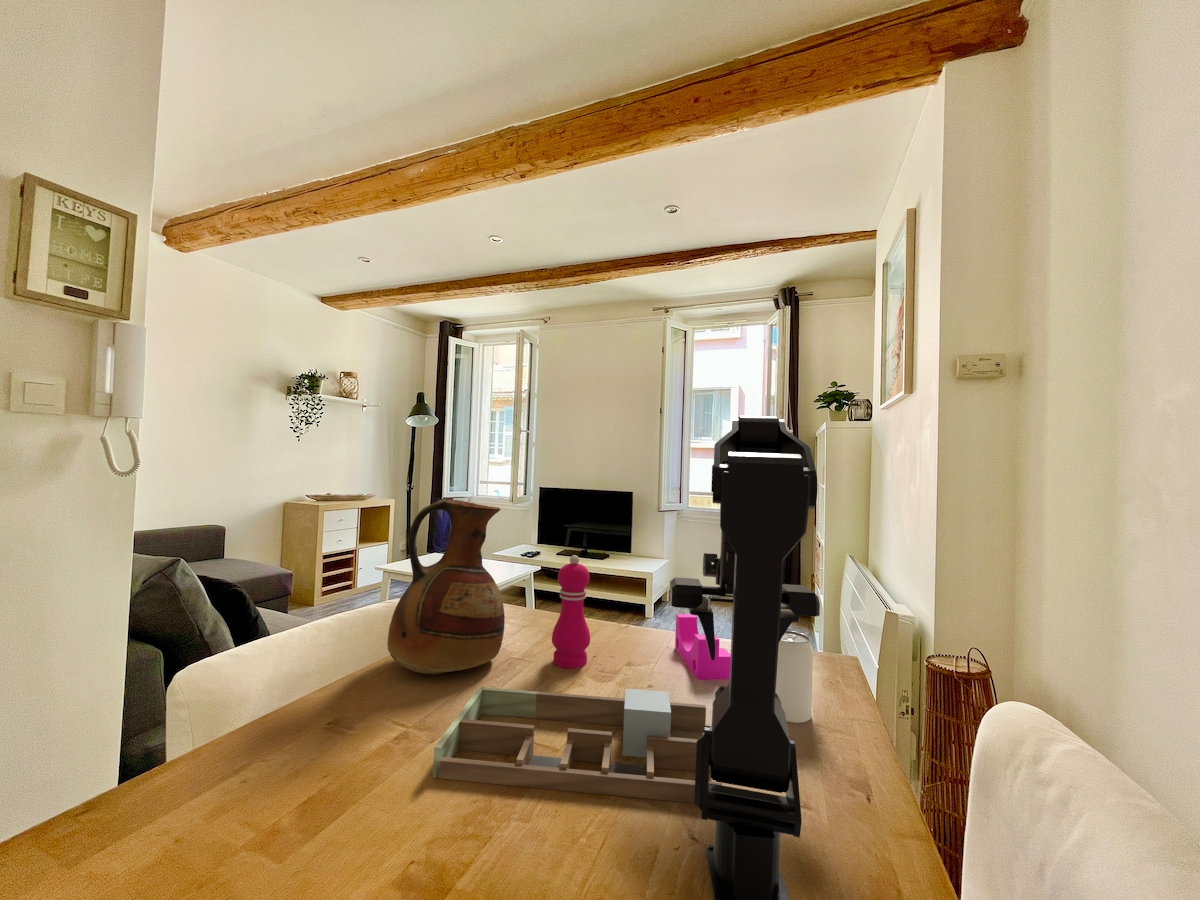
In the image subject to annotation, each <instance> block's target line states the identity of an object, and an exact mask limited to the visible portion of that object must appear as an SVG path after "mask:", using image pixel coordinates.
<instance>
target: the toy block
mask: <svg viewBox="0 0 1200 900" xmlns="http://www.w3.org/2000/svg"><path fill="white" fill-rule="evenodd" d="M674 639H675V641H674V642H675V643H674V649H675V650H676V652H677V653H678V655H679V656H680V657H681V659H682V660H683V662H684V663H685V664H686V666H687V667H688V668H689V670H690V672H691V673H692V674H693V675H694V677H695V679H696V681H699V680H700V681H701V680H702V681H706V680H707V681H708V680H709V681H711V680H730V658H731V653H730V652H729V651H728V650H727V649H725V648H724V647H722V648H720V638H719V637H717V636H716V635H715V660H711V657H710V654H709V650H708V646H707V642H706V638H705V635H704V633H702V634H701V633H699V628H698V616H697V615H692V614H690V613H688V614H685V613H684V614H683V613H682V614H681V613H676V614H675V638H674Z"/></svg>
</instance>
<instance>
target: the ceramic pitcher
mask: <svg viewBox="0 0 1200 900" xmlns="http://www.w3.org/2000/svg"><path fill="white" fill-rule="evenodd" d="M435 511H436V512H437V511H444V512H446V513H447V515H448V516H449V519H450V533H449V539H448V542H447V543H448V544H447V546H446V549H445V551H444V553H443V555H442V557H441V558H440V559H439V560H438V561H436V562H435V563H433V564H431V565H428V566H424V565H422V563H421V562H420V559H419V557H418V551H417V546H416V545H417V544H416V543H417V541H416V539H417V535H418V532H419V529H420V526H421V524H422V522H423V520H425V518H426V517H427V516H428V514H431V513H433V512H435ZM500 511H501V507H499V506H492V505H491V506H488V505H483V504H477V503H474V502H469V501H465V500H461V499H460V500H459V499H451V498H450V499H449V498H443V499H441V500H438V501H437V502H436V501H435V502H433V503H431V504H429V505H427V506H424V507H423V508H422V509H421V510H419V511H418V512H417V515H415V518H414V520H413V522H412V524H411V526H410V528H409V532H408V538H407V547H408V548H407V549H408V553H409V559H410V560H409V561H410V566H411V571H412V579H411V582H410V584H409V586H408V587H407V588H406V590H405V591H404V592H403V594H402V595H401V596H400V598H399V600H398V602H397V604H396V606H395V608H394V610H393V611H394V612H393V614H392V616H391V621H390V624H389V627H388V636H387V651H388V653H389V654H390V657H391V659H393V660H394V661H395V662H397V663H398V664H399V665H400V666H402V667H403V668H406V669H408V670H409V671H412V672H416V673H418V674H423V675H425V674H426V675H440V674H444V673H448V672H449V673H452V672H455V671H457V672H458V671H462V670H468V669H471V668H475V667H479V666H481V665H484V664H486V663H489V662H490V661H491V660H494V659H495V658H496V657H497V656H498V654H499V652H500V650H501V647H502V644H503V639H504V635H505V634H504V633H505V620H506V619H505V608H504V607H505V606H504V601H503V596H502V593H501V591H500V589H499V587H498V584H497V583H496V581H495V580H494V578H493V576H492V575H491V574H490V573H489V572H488V570H487V569H486V568H485V567H484V565H483V554H482V548H483V545H484V543H485V541H486V537H487V527H488V523H489V522H490V520H491V519H492V518H493V517H494V516H495V515H496V514H498V513H499V512H500Z"/></svg>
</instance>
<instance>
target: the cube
mask: <svg viewBox="0 0 1200 900" xmlns="http://www.w3.org/2000/svg"><path fill="white" fill-rule="evenodd" d="M624 693H625V694H624V699H625V706H624V726H623V735H622V756H625V757H627V756H628V757H637V758H646V748H647V735H653V736H665V737H671V730H670V729H671V708H670V702H671V700H670V693H669V691H661V690H647V689H637V688H636V689H634V688H625V692H624Z"/></svg>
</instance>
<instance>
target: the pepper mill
mask: <svg viewBox="0 0 1200 900" xmlns="http://www.w3.org/2000/svg"><path fill="white" fill-rule="evenodd" d="M569 562H570V563H566V564H564V565H563V566H562V567H561V568H560V569H559V572H558V574H557V582H558V584H559V586H560V587H561V588H560V589H559V597H560V599H561V607H560V608H561V611H560V614H559V617H558V619H557V622H556V623H555V625H554V626H553V627H554V628H553V631H552V633H551V643H552V645H553V646H554V648H555V650H554V652H553V659H552V660H553V664H554V665H555V666H557V667H559V668H562V669H572V670H573V669H578V668H582V667H584V666H585V665H587V662H588V653H587V651H586V649H587V648H588V647H589V646H590V644H591V633H590V629H589V626H588V624H587V620H586V618H585V612H584V601H585V599H587V590H586V587H587V586H589V585H588V584H589V583H590V572H589V570H588V568H587V567H586V566H584V565H583V564H581V563H580V558H579V556H578V555H576V554H573V555H571V556H570V558H569Z"/></svg>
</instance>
